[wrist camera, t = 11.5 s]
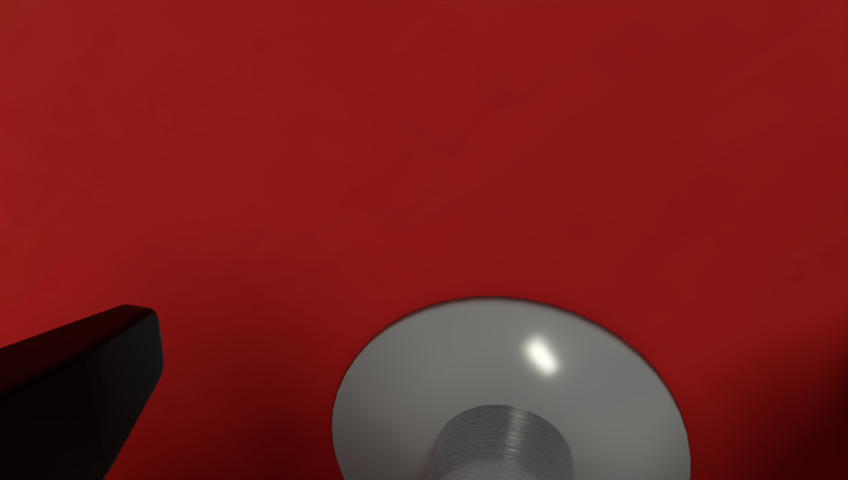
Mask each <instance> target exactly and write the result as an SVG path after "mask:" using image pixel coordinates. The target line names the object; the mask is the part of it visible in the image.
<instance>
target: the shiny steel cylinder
mask: <svg viewBox="0 0 848 480" xmlns="http://www.w3.org/2000/svg"><path fill="white" fill-rule="evenodd" d="M427 480H573V458H572V454H571V451H570V448H569V446H568V444H567V442H566V440H565V439H564V437H563V436H562V435H561V433H560V432H559V431H558V430H557V429H556V428H555V427H554V426H553V425H552V424H550V423H549V422H548V421H546V420H545V419H543V418H542V417H540V416H538V415H536V414H534V413H532V412H530V411H527V410H524V409H521V408H517V407H513V406H507V405H483V406H478V407H474V408H471V409H468V410H465V411H463V412H461V413H459V414H458V415H456V416H455V417H453V418H452V419H451V420H450V421H449V422H448V423H447V424H446V425H445V426H444V428H443V429H442V431H441V433H440V435H439V438H438V441H437V444H436V448H435V451H434V455H433V458H432V462H431V466H430V469H429V473H428V476H427Z"/></svg>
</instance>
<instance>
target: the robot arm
mask: <svg viewBox="0 0 848 480" xmlns="http://www.w3.org/2000/svg"><path fill="white" fill-rule="evenodd" d="M163 365H164V357H163V349H162V341H161V333H160V325H159V319H158V316H157V314H156V312H155V311H154V310H152V309H151V308H146V307H140V306H135V305H128V304H125V305H120V306H117V307H115V308H112V309H109V310H106V311H103V312H101V313H98V314H95V315H92V316H89V317H87V318H84V319H81V320H78V321H75V322H73V323H70V324H67V325H64V326H61V327H59V328H56V329H53V330H50V331H47V332H45V333H42V334H39V335H36V336H33V337H31V338H28V339H25V340H22V341H19V342H16V343H14V344H11V345H8V346H5V347H2V348H0V480H104V478H105V477H106V475H107V474H108V472H109V470H110V469H111V467H112V465H113V463H114V462H115V460H116V458H117V456H118V455H119V453H120V451H121V449H122V447H123V445H124V444H125V442H126V440H127V438H128V436H129V434H130V433H131V431H132V429H133V427H134V425H135V423H136V422H137V420H138V418H139V416H140V414H141V412H142V411H143V409H144V407H145V405H146V403H147V401H148V400H149V398H150V396H151V394H152V392H153V390H154V388H155V387H156V385H157V383H158V381H159V379H160V377H161V374H162V371H163Z"/></svg>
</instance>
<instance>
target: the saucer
mask: <svg viewBox="0 0 848 480" xmlns="http://www.w3.org/2000/svg"><path fill="white" fill-rule="evenodd" d="M483 405H507V406H513V407H517V408H521V409H524V410H527V411H530V412H532V413H534V414H536V415H538V416H540V417H542V418H543V419H545V420H546V421H548V422H549V423H550V424H552V425H553V426H554V427H555V428H556V429H557V430H558V431H559V432H560V433H561V435H562V436H563V437H564V439H565V440H566V442H567V444H568V446H569V448H570V451H571V454H572V458H573V480H690V462H691V458H690V451H689V445H688V438H687V432H686V426H685V423H684V420H683V417H682V414H681V411H680V408H679V406H678V404H677V402H676V400H675V398H674V396H673V394H672V392H671V390H670V388H669V387H668V385H667V384H666V383H665V381H664V380H663V379H662V377H661V376H660V374H659V373H658V372H657V370H656V369H655V368H654V367H653V366H652V365H651V364H650V363H649V362H648V361H647V360H646V359H645V358H644V357H643V356H642V355H641V353H640V352H638V351H637V350H636V349H635V348H633V347H632V346H631V345H630V344H628V343H627V342H626V341H625V340H623V339H622V338H621V337H620V336H618V335H616V334H615V333H613V332H611V331H610V330H608V329H607V328H605V327H603V326H602V325H600V324H598V323H596V322H594V321H592V320H590V319H588V318H586V317H583V316H581V315H579V314H577V313H575V312H572V311H569V310H566V309H563V308H560V307H557V306H554V305H551V304H547V303H542V302H537V301H533V300H528V299H522V298H512V297H502V296H476V297H467V298H459V299H451V300H447V301H443V302H439V303H435V304H432V305H428V306H425V307H423V308H420V309H418V310H415V311H413V312H410V313H408V314H406V315H404V316H402V317H401V318H399V319H397V320H395V321H394V322H392V323H390V324H389V325H387V326H386V327H385V328H383V329H382V330H381V331H380V332H378V333H377V334H376V335H375V336H373V337H372V338H371V339H370V341H369V342H368V343H367V344H366V345H365V346H364V347H363V348H362V349H361V350H360V352H359V353H358V355H357V356H356V358H355V359H354V361H353V362H352V364H351V365H350V367H349V369H348V371H347V373H346V375H345V377H344V379H343V381H342V383H341V386H340V388H339V390H338V392H337V396H336V400H335V404H334V408H333V418H332V436H333V446H334V450H335V454H336V458H337V462H338V465H339V467H340V470H341V472H342V475H343V477H344V479H345V480H427V476H428V473H429V469H430V466H431V462H432V458H433V455H434V451H435V448H436V444H437V441H438V438H439V435H440V433H441V431H442V429H443V428H444V426H445V425H446V424H447V423H448V422H449V421H450V420H451V419H452V418H453V417H455V416H456V415H458V414H459V413H461V412H463V411H465V410H468V409H471V408H474V407H478V406H483Z"/></svg>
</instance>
